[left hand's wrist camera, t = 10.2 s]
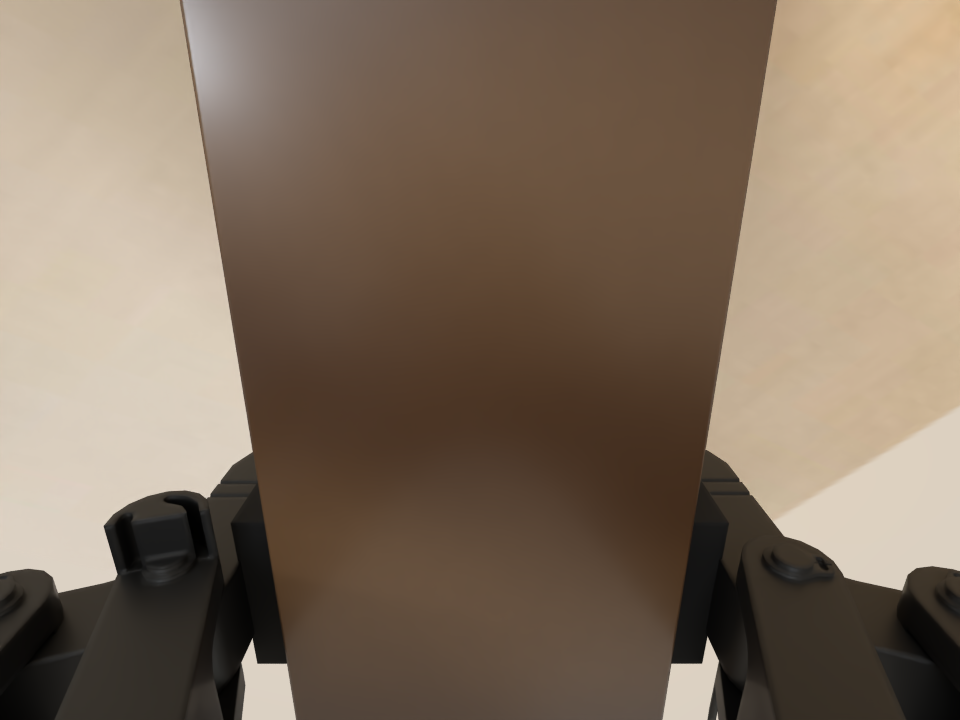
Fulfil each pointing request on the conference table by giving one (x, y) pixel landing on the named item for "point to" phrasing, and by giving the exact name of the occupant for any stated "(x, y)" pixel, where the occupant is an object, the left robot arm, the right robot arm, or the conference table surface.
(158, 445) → the conference table surface
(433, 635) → the bar
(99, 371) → the conference table surface
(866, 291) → the conference table surface
